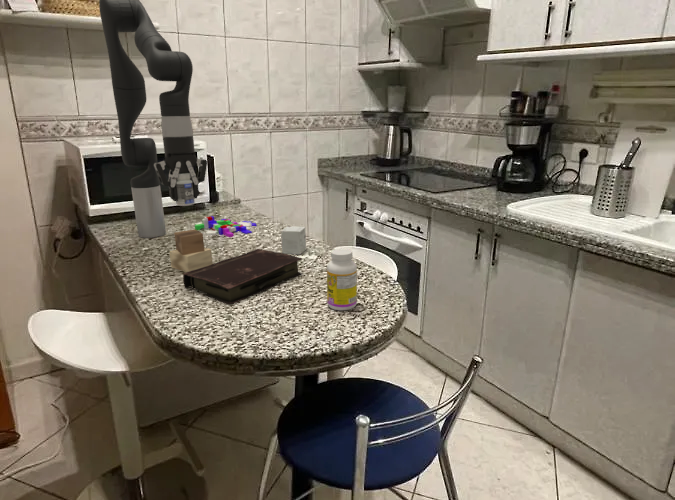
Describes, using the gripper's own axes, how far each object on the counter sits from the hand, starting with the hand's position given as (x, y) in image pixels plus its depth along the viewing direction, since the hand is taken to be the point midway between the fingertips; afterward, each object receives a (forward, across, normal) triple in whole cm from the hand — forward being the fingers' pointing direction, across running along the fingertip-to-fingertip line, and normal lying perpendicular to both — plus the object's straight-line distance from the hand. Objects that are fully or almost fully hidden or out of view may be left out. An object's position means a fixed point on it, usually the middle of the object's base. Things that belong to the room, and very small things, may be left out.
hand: (184, 199), depth 123 cm
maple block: (+20, 0, 0) cm, 20 cm away
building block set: (+20, -26, -34) cm, 47 cm away
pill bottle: (+2, 0, 0) cm, 2 cm away
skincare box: (+20, -30, +6) cm, 36 cm away
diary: (+20, -7, +20) cm, 29 cm away
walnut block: (+15, 0, 0) cm, 15 cm away
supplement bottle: (+19, -17, +47) cm, 54 cm away
